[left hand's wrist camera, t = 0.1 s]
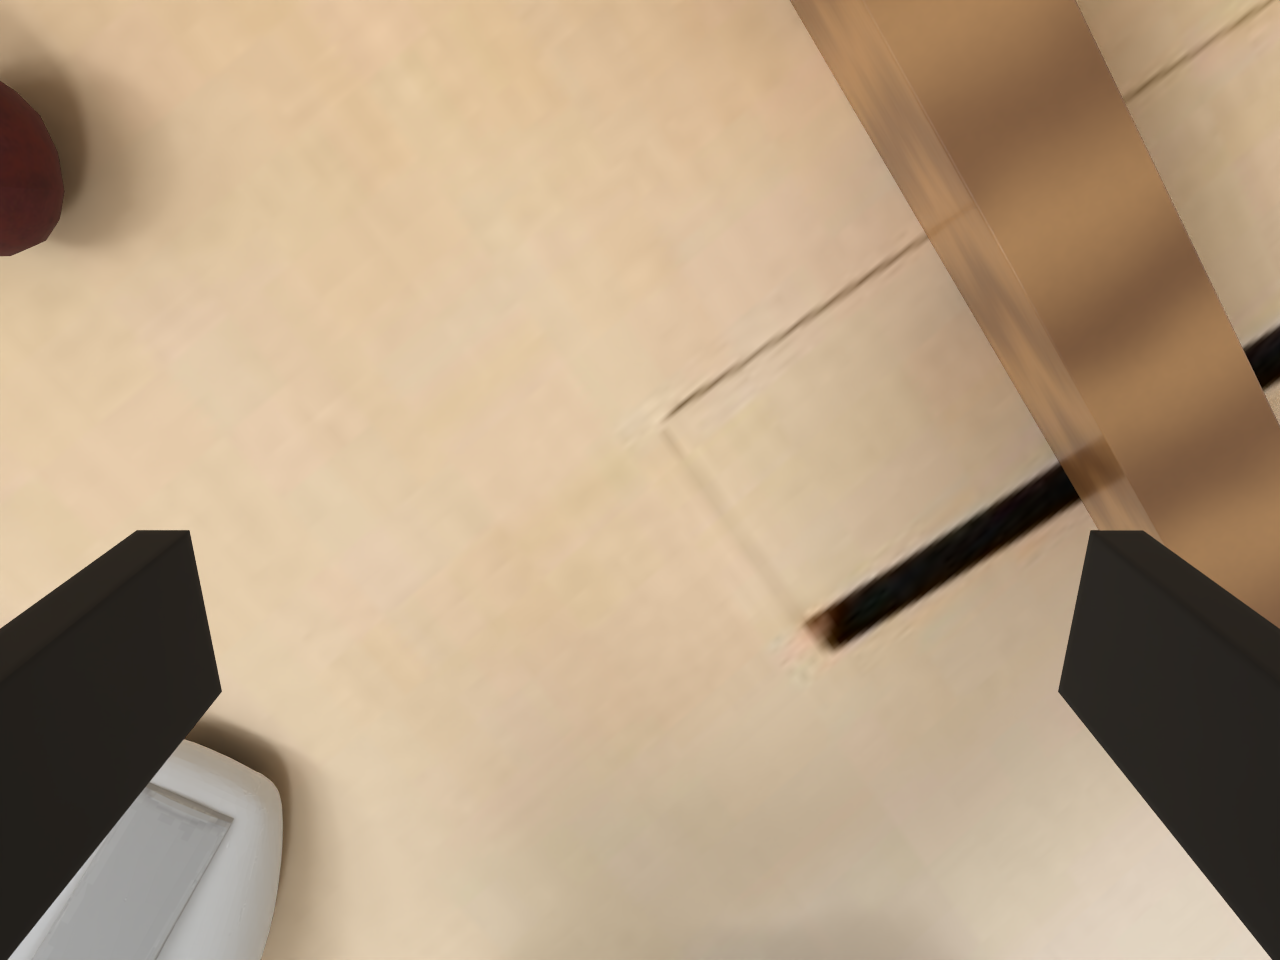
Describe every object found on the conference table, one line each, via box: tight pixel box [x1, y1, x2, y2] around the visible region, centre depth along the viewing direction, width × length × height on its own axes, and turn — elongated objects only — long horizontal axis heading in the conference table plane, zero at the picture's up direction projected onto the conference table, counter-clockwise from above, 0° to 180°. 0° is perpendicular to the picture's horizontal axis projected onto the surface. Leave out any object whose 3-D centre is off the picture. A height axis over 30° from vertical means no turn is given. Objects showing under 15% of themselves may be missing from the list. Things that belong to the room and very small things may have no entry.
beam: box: [790, 0, 1280, 629], centre depth 36 cm, size 51×6×8 cm, turn 36°
